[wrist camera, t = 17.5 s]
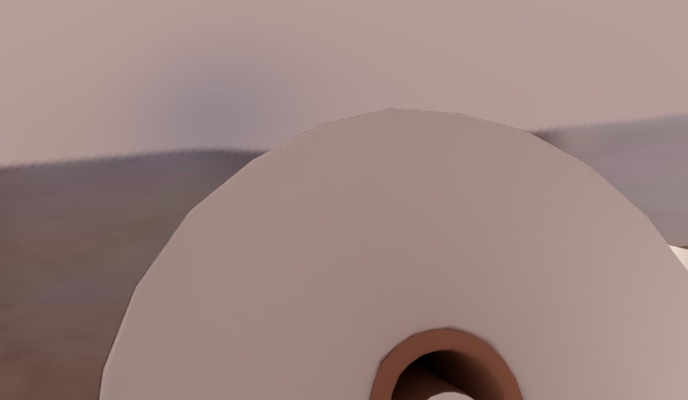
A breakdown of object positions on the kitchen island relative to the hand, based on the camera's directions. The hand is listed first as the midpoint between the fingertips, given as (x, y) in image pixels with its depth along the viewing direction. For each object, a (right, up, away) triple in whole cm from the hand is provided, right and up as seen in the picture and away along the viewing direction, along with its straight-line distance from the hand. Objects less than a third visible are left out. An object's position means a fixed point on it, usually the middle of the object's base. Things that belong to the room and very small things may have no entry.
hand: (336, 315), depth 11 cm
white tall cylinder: (-1, -4, +16) cm, 16 cm away
